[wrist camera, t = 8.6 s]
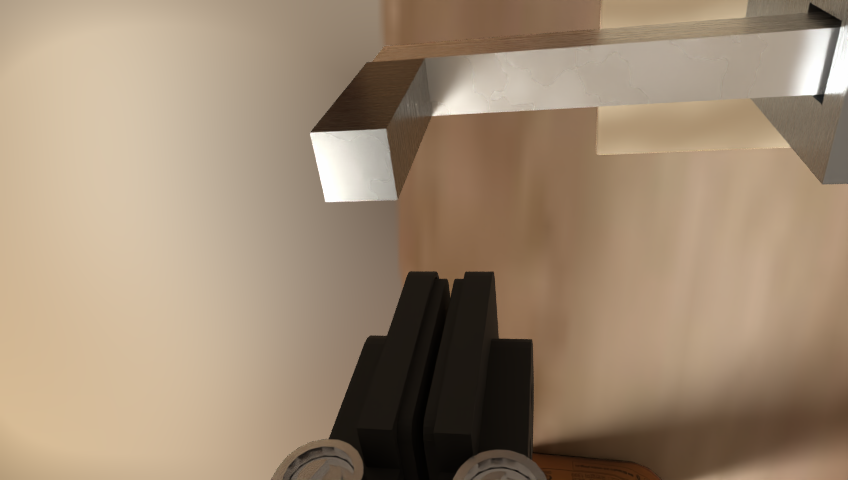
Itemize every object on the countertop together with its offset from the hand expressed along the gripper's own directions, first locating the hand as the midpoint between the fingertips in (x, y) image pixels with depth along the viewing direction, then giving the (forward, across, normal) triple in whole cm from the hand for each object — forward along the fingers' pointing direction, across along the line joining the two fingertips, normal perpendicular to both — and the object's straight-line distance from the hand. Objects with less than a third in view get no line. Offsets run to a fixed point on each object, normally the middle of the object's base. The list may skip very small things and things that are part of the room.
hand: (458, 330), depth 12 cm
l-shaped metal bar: (+17, -5, 0) cm, 18 cm away
